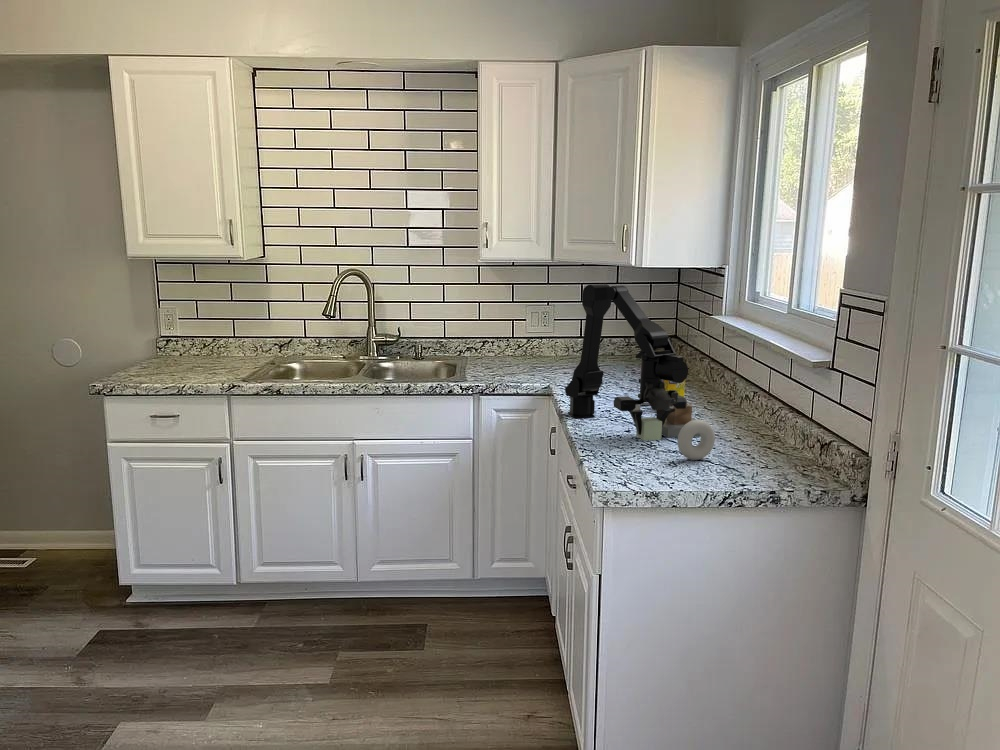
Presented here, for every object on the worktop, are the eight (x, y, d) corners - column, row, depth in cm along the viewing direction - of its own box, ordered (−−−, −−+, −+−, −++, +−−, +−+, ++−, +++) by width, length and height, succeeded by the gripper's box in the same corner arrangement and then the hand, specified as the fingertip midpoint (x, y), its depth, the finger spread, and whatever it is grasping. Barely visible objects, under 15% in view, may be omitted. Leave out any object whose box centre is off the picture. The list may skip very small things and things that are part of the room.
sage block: (643, 440, 202) (644, 422, 201) (636, 435, 207) (637, 417, 206) (661, 439, 203) (662, 421, 202) (653, 434, 208) (654, 417, 207)
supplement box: (666, 414, 231) (668, 379, 229) (657, 410, 237) (658, 375, 235) (683, 413, 233) (685, 378, 231) (674, 409, 238) (676, 374, 236)
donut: (708, 455, 189) (710, 416, 187) (716, 459, 185) (719, 419, 183) (673, 459, 185) (675, 419, 183) (681, 463, 182) (683, 423, 180)
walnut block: (674, 424, 208) (675, 407, 208) (666, 420, 213) (667, 403, 212) (691, 424, 210) (692, 406, 209) (682, 419, 214) (683, 402, 213)
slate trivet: (667, 437, 205) (668, 428, 204) (649, 426, 216) (649, 418, 216) (708, 435, 207) (709, 426, 207) (688, 424, 219) (689, 416, 218)
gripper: (629, 383, 192) (627, 443, 195) (698, 381, 196) (694, 440, 199) (614, 375, 203) (611, 432, 205) (679, 373, 207) (676, 429, 209)
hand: (648, 433), depth 205 cm, fingers closed on sage block, 5 cm apart
